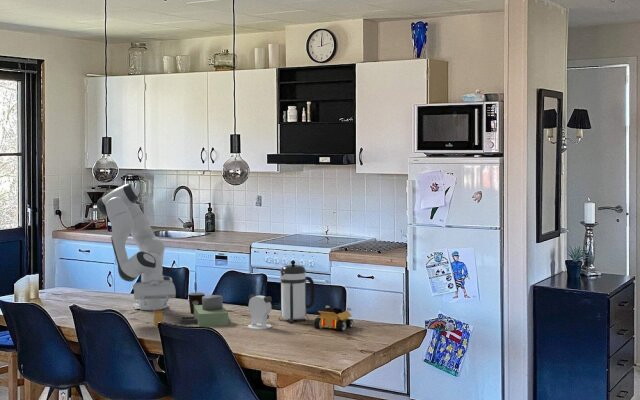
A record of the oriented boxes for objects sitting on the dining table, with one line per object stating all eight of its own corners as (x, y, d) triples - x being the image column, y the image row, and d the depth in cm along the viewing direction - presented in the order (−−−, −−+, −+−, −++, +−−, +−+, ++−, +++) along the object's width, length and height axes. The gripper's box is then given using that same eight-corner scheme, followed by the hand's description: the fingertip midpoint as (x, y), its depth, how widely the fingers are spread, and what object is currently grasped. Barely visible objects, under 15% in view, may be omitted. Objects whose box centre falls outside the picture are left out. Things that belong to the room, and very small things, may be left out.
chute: (153, 326, 404) (153, 310, 403) (162, 326, 405) (162, 309, 404) (154, 328, 400) (154, 311, 399) (163, 327, 401) (162, 311, 400)
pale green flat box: (178, 318, 424) (177, 294, 423) (221, 315, 430) (221, 292, 429) (182, 327, 401) (182, 302, 400) (228, 324, 406) (227, 300, 406)
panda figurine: (277, 326, 403) (276, 295, 402) (262, 330, 393) (262, 298, 392) (257, 323, 409) (257, 292, 408) (242, 327, 400) (242, 296, 399)
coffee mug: (185, 313, 436) (184, 294, 436) (195, 310, 444) (194, 291, 443) (203, 315, 431) (203, 296, 430) (213, 312, 438) (212, 293, 438)
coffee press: (307, 323, 407) (306, 262, 405) (275, 322, 410) (274, 261, 408) (314, 316, 424) (314, 258, 422) (283, 316, 427) (283, 257, 425)
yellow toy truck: (355, 327, 400) (355, 305, 399) (340, 332, 387) (339, 310, 386) (328, 324, 407) (328, 302, 407) (312, 329, 394) (312, 307, 394)
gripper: (132, 279, 411) (133, 302, 402) (175, 277, 416) (176, 300, 407) (132, 286, 416) (133, 309, 407) (174, 285, 421) (176, 307, 412)
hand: (155, 305), depth 407 cm, fingers open, 8 cm apart
